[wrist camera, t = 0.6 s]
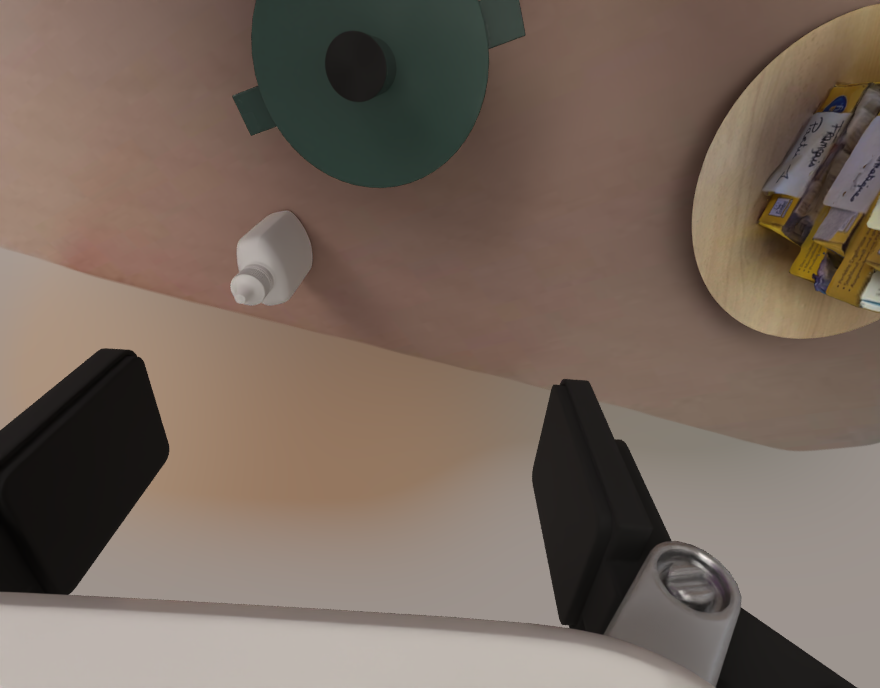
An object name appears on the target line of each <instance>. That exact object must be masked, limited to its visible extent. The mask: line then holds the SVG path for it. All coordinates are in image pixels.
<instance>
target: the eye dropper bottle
mask: <svg viewBox="0 0 880 688" xmlns="http://www.w3.org/2000/svg"><path fill="white" fill-rule="evenodd" d="M312 260H313V257H312V247H311V243H310V240H309V237H308V234H307V232H306V230H305V228H304V227H303V225H302V224H301V222H300V221H299V219H298V218H297V217H296V216H295V215H294V214H293V213H292V212H290V211H280V212H275V213H271V214H270V215H268V216H267V217H265V218H264V219H263V220H262V221H261V222H259V223H258V224H257V225H256V226H255V227H253V228H252V229H251V230H250V231H249V232H248V233H246V234H245V235H244V236H243V237H242V238H241V239H240V240H239V242H238V244H237V264H238V269H239V273H238V274H237V275H236V276H235V277H234V278H233V279H232V282H231V285H230V286H231V291H232V294H233V296H234V297H235V300H236V302H238V303H240V304H242V303H243V304H246V305H257V304H259V303H263V304H265V305H269V306H271V305H277V304H282V303H285V302H286V301H288V300H289V299H290V298H291V296H292V295H293V294H294V292H295V291H296V290H297V288H298V287H299V285H300V284H301V282H302V281H303V279H304V278H305V276H306V275H307V274H308V272H309V271H310V269H311V267H312Z"/></svg>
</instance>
